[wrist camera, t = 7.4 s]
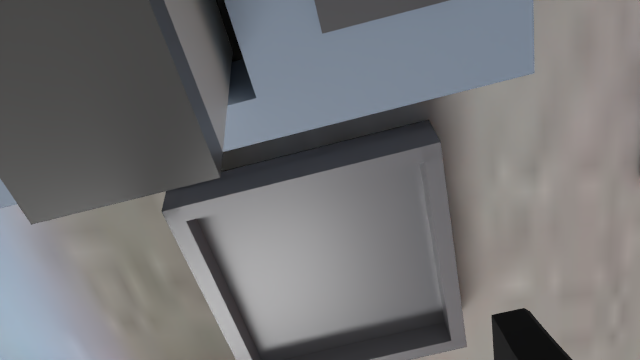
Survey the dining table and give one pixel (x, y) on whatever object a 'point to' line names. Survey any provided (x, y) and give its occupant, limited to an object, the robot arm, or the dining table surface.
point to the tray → (328, 251)
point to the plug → (109, 100)
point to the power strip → (361, 59)
